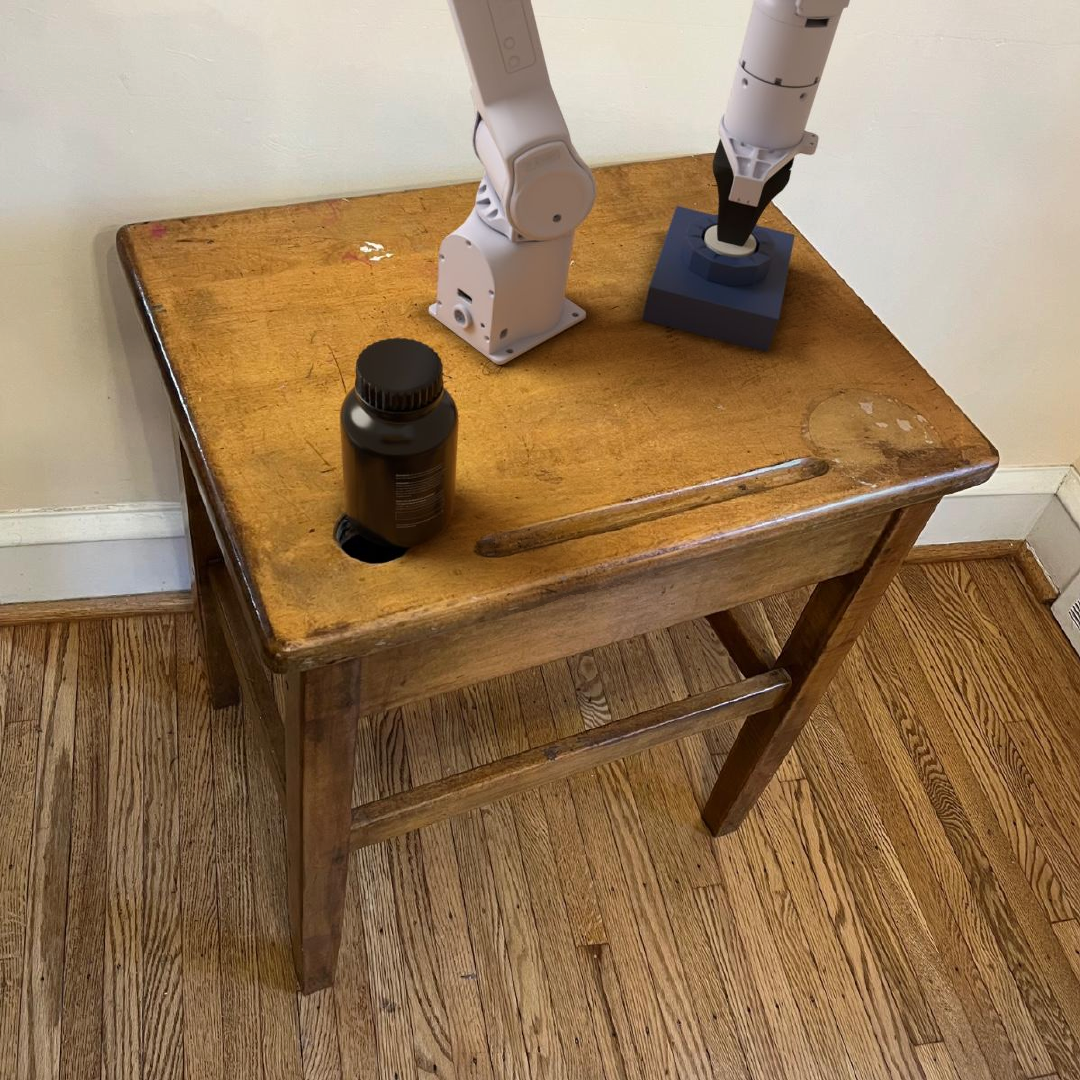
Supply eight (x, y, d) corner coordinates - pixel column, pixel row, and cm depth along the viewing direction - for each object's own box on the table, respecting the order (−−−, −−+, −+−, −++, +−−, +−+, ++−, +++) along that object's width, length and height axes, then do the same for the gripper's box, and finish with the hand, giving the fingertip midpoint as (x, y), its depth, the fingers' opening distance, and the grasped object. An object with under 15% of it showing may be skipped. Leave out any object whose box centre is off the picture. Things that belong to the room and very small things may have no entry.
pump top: (747, 278, 83) (753, 259, 82) (696, 265, 83) (701, 246, 82) (753, 250, 85) (759, 231, 84) (704, 238, 86) (709, 219, 84)
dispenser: (767, 352, 82) (785, 299, 79) (641, 320, 83) (653, 266, 80) (784, 267, 90) (801, 215, 87) (668, 238, 91) (681, 185, 87)
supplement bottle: (460, 480, 70) (472, 335, 61) (444, 560, 66) (454, 415, 56) (356, 465, 70) (352, 317, 61) (332, 543, 65) (324, 396, 56)
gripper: (829, 130, 68) (771, 305, 78) (845, 36, 77) (791, 203, 87) (720, 105, 68) (676, 281, 79) (749, 14, 78) (707, 183, 88)
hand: (731, 239), depth 83 cm, fingers closed, pressing on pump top
